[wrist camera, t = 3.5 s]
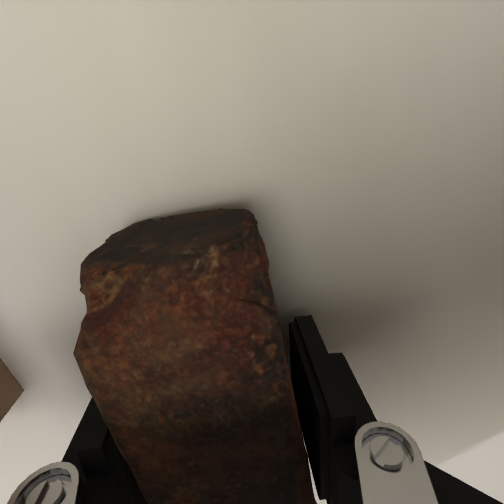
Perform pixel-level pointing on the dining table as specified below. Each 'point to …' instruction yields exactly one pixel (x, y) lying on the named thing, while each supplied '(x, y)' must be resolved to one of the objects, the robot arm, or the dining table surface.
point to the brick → (193, 362)
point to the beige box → (8, 390)
